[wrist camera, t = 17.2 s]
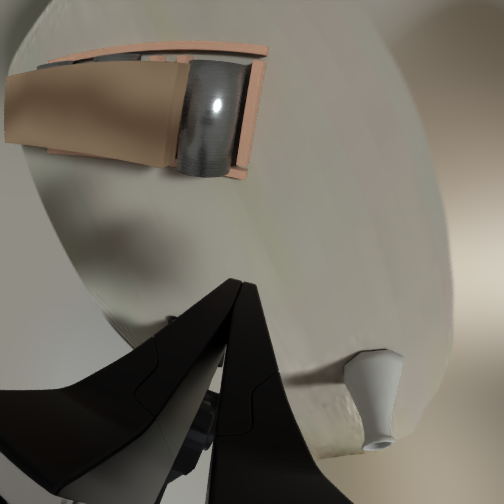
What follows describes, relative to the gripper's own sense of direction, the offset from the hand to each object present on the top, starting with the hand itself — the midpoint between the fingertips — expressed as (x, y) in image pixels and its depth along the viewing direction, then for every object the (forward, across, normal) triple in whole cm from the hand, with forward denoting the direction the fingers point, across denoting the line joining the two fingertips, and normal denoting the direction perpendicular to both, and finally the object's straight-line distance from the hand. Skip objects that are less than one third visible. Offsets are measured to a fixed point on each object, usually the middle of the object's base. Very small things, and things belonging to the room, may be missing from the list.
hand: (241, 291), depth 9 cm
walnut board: (+9, +14, -4) cm, 17 cm away
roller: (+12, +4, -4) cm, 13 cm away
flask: (+12, -15, +18) cm, 26 cm away
